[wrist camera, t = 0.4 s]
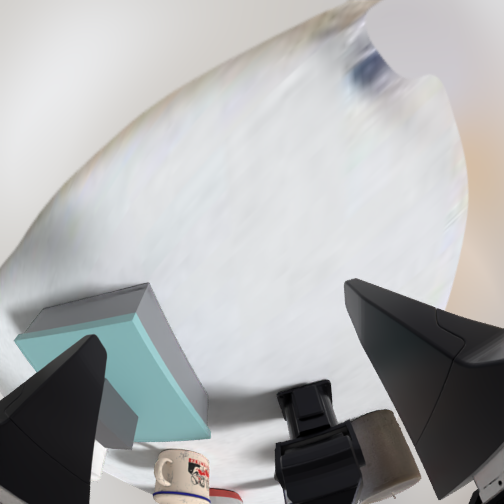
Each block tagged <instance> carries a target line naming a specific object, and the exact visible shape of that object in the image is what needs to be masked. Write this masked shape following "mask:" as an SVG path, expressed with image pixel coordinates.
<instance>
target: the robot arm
mask: <svg viewBox="0 0 504 504" xmlns="http://www.w3.org/2000/svg"><path fill="white" fill-rule="evenodd" d="M344 293H345V305H346V308H347V311H348V313H349V316H350V318H351V320H352V323H353V325H354V328H355V330H356V333H357V335H358V338H359V340H360V342H361V345H362V346H363V348H364V350H365V352H366V354H367V356H368V358H369V359H370V361H371V363H372V365H373V367H374V369H375V370H376V372H377V374H378V376H379V378H380V380H381V382H382V383H383V385H384V387H385V389H386V391H387V393H388V395H389V397H390V399H391V401H392V402H393V404H394V406H395V408H396V410H397V412H398V414H399V416H400V418H401V420H402V422H403V424H404V426H405V428H406V430H407V432H408V434H409V436H410V438H411V440H412V443H413V445H414V446H415V449H416V451H417V453H418V455H419V458H420V460H421V462H422V464H423V466H424V468H425V470H426V473H427V475H428V477H429V480H430V482H431V484H432V486H433V489H434V491H435V493H436V496H437V498H438V500H441V499H443V498H445V497H447V496H448V495H449V494H452V493H453V492H455V491H457V490H458V489H460V488H461V487H463V486H465V485H466V484H468V483H469V482H471V481H472V480H474V482H475V484H476V486H477V488H478V489H477V490H476V491H474V492H473V494H472V497H471V499H470V502H469V504H504V329H503V328H499V327H496V326H492V325H489V324H485V323H481V322H478V321H474V320H471V319H467V318H464V317H461V316H458V315H455V314H452V313H449V312H446V311H444V310H441V309H438V308H437V309H436V308H435V307H433V306H430V305H428V304H425V303H422V302H419V301H417V300H414V299H411V298H409V297H406V296H403V295H401V294H398V293H395V292H392V291H390V290H387V289H384V288H382V287H379V286H376V285H373V284H371V283H368V282H365V281H362V280H360V279H357V278H354V279H351V280H347V281H345V283H344ZM106 363H107V351H106V349H105V348H104V346H103V344H102V343H101V341H100V339H99V338H98V336H97V335H95V334H89V335H85V336H84V337H83V338H81V339H80V340H79V341H77V342H76V343H75V344H73V345H72V346H71V347H69V348H68V349H67V350H65V351H64V352H63V353H61V354H60V355H59V356H58V357H56V358H55V359H54V360H52V361H51V362H50V363H48V364H47V365H46V366H45V367H43V368H42V369H41V370H39V371H38V372H37V373H36V374H34V375H33V376H32V377H30V378H29V379H28V380H27V381H26V382H24V383H23V384H22V385H20V386H19V387H18V388H16V389H15V390H14V391H13V392H11V393H10V394H9V395H7V396H6V397H5V398H3V399H2V400H0V504H89V499H90V481H91V470H92V460H93V451H94V443H95V436H96V429H97V423H98V417H99V411H100V405H101V400H102V395H103V389H104V380H105V371H106ZM277 398H278V401H279V404H280V407H281V410H282V413H283V416H284V419H285V421H287V425H288V430H289V434H290V439H291V440H288V441H285V442H278V443H276V449H275V474H274V478H275V480H277V481H279V483H280V485H281V487H282V488H283V489H284V490H286V492H287V498H288V499H289V500H290V501H291V502H292V503H293V504H357V503H358V500H359V497H360V494H361V492H362V489H363V485H364V483H363V477H362V473H361V470H360V468H362V467H364V466H366V463H365V459H364V456H363V453H362V450H361V447H360V444H359V442H358V439H357V437H356V434H355V432H354V429H353V427H352V424H351V422H350V419H349V420H347V421H345V422H343V423H341V424H338V422H337V419H336V416H335V413H334V410H333V406H332V392H331V383H330V381H329V380H325V381H321V382H318V383H314V384H311V385H307V386H303V387H300V388H296V389H292V390H288V391H284V392H280V393H278V394H277Z"/></svg>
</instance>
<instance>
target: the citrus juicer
mask: <svg viewBox="0 0 504 504" xmlns="http://www.w3.org/2000/svg"><path fill="white" fill-rule="evenodd" d="M209 500H210V501H211V503H210V504H243V501H242V499H241V498H240V496H239V495H238V494H237V493H235V492H231V491H226V490H216V489H213V488H209Z"/></svg>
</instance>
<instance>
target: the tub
mask: <svg viewBox="0 0 504 504" xmlns="http://www.w3.org/2000/svg"><path fill="white" fill-rule="evenodd" d="M135 312H136V314H137V316H138V317H139V319H140V321H141V323H142V325H143V327H144V329H145V330H146V332H147V334H148V336H149V338H150V339H151V341H152V343H153V345H154V346H155V348H156V350H157V351H158V353H159V355H160V356H161V358H162V360H163V361H164V363H165V365H166V366H167V368H168V370H169V371H170V373H171V374H172V376H173V377H174V379H175V381H176V382H177V384H178V385H179V387H180V388H181V390H182V391H183V393H184V394H185V396H186V397H187V399H188V400H189V402H190V403H191V404H192V406H193V407H194V409H195V410H196V412H197V413H198V414H199V416H200V417H201V419H202V420H203V421H204V423H205V424H206V425H207V418H208V395H207V393H206V391H205V390H204V388H203V386H202V384H201V383H200V381H199V379H198V378H197V376H196V374H195V372H194V371H193V369H192V367H191V365H190V363H189V362H188V360H187V358H186V356H185V354H184V352H183V351H182V349H181V347H180V345H179V343H178V341H177V339H176V337H175V335H174V333H173V331H172V329H171V327H170V325H169V323H168V321H167V319H166V317H165V315H164V313H163V311H162V309H161V307H160V305H159V303H158V301H157V299H156V296H155V294H154V292H153V290H152V288H151V286H150V283H146V284H142V285H138V286H134V287H130V288H126V289H122V290H118V291H114V292H110V293H106V294H102V295H98V296H94V297H90V298H86V299H82V300H78V301H74V302H70V303H65V304H61V305H57V306H53V307H49V308H45V309H43V310H42V311H41V312H40V314H39V315H38V316H37V317H36V319H35V320H34V321H33V322H32V324H31V325H30V326H29V328H28V329H27V330H26V332H25V333H30V332H36V331H42V330H48V329H53V328H59V327H64V326H70V325H75V324H80V323H85V322H91V321H96V320H101V319H106V318H111V317H116V316H120V315H125V314H130V313H135Z"/></svg>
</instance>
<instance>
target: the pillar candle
mask: <svg viewBox="0 0 504 504" xmlns="http://www.w3.org/2000/svg"><path fill="white" fill-rule="evenodd" d="M351 424H352V427H353V429H354V432H355V434H356V437H357V439H358V442H359V444H360V447H361V450H362V453H363V456H364V459H365V463H366V466H364V467H362V468H360V470H361V473H362V477H363V483H364V485H363V489H362V492H361V494H360V497H359V501H360V504H369V503H374V502H378V501H381V500H384V499H387V498H389V497H392V496H393V497H394V499H396V497H395V496H394V495H396V494H398V493H400V492H402V491H404V490H406V489H408V488H410V487H412V486H413V485H414V484H416V483H417V482H418V481H419V480H420V479H421V475H420V473H419V470H418V467H417V465H416V463H415V460H414V458H413V455H412V453H411V451H410V449H409V446H408V444H407V443H406V440H405V438H404V436H403V434H402V431H401V428H400V427H399V424H398V423H397V421H396V419H395V417H394V413H393V412H392V411H390V410H379V411H375V412H372V413H369V414H366V415H364V416H361V417H359V418H357V419H356V420H354V421H353V422H351Z"/></svg>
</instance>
